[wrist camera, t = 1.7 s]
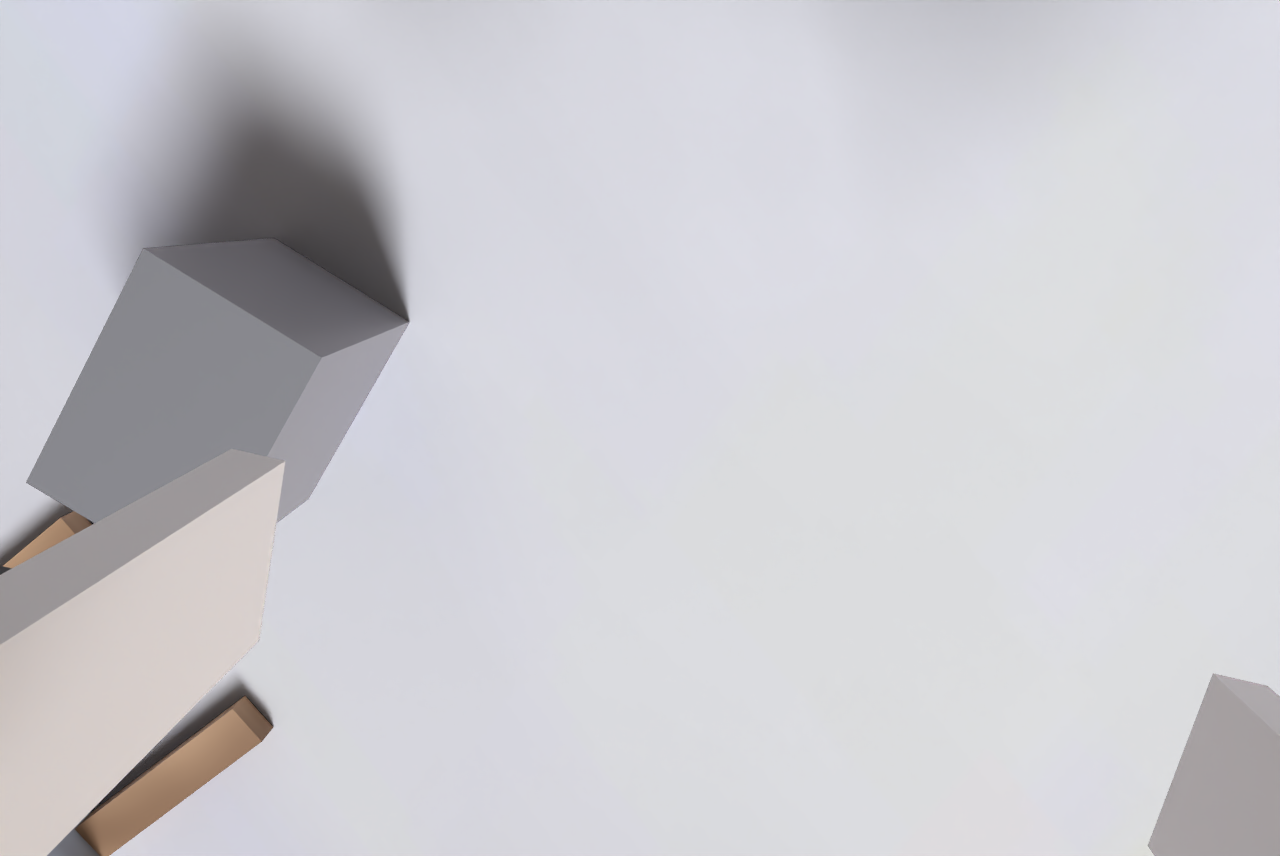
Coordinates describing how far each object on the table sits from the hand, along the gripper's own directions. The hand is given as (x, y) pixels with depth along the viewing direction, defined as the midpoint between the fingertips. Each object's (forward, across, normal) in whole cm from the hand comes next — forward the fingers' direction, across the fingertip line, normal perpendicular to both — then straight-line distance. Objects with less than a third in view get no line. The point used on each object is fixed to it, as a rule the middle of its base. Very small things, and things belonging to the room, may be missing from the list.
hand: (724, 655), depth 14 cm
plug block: (+19, -14, -2) cm, 24 cm away
